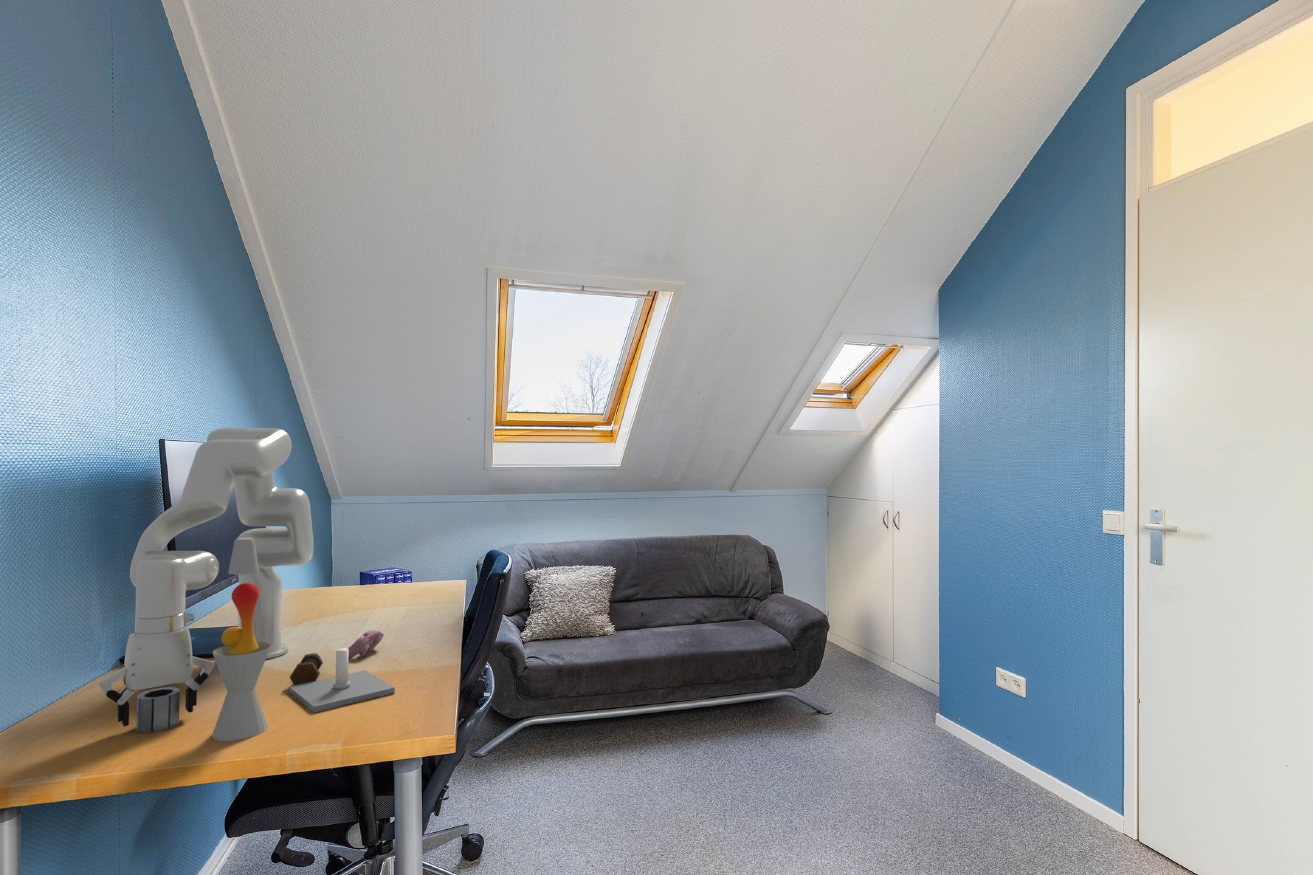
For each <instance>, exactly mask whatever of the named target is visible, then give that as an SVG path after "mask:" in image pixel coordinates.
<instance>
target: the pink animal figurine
mask: <svg viewBox="0 0 1313 875" xmlns="http://www.w3.org/2000/svg"><path fill="white" fill-rule="evenodd" d="M383 637H384V633H382V632H381V631H379V630H376V629H373V630H368V631H365V632H364V633H363V634H362V635H360V636H359V637H358V638H357V639H356V640H355V641H354V642H353V643H352V644H351V645H350V646H348V647H346V648H347V649H349V656H348V659H352V658H355V657H356V656H357V655H359V656H361V657H363V656H365V655H366V654H367V652H368V653H372V652H373V651H374V650H375V648H376V647H377V646H378V645H379V643H380V642H382V639H384V638H383Z"/></svg>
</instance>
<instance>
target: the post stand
mask: <svg viewBox="0 0 1313 875" xmlns="http://www.w3.org/2000/svg"><path fill="white" fill-rule="evenodd" d="M347 648H348V647H343V648H338V649H336V651H335V676H333V677H332V676H331V677H328V678H323V679H318V680H317V679H316V681H312V682H308V683H303V684H298V685H294V684H293V685H289V686H288V693H289V692H290V693H291V695H292V696H293V695H294V696H293V697H294V698H295V697H296V698H297V701H298V702H300V701H301V702H300V703H301V704H303V706H305V707H306V708H307V707H308V709H309V710H310V711H311V712H312V713H313V714H315V713H319V712H323V711H327V709H328V710H331V708H332V709H335V708H334V707H336V708H339V707H338V706H340V707H343V705H344V706H346V705H345V704H348V705H352V704H355V703H354V702H356V703H358V702H357V701H360V702H364V701H363V700H365V701H368V700H367V699H369V698H373V699H375V698H374V697H377V698H380V696H381V697H383V696H382V695H385V696H389V695H392V694H391V693H393V694H395V693H396V690H395V689H396V688H395V686H393V685H392V684H390V683H388V682H386V681H385V680H382V679H381V678H380V677H377V676H376V675H374V674H373V673H371V672H369V671H367V670H366V669H365V670H360V671H355V672H351V673H349V658H348V656H349V649H347ZM290 693H289V694H290ZM388 694H389V695H388ZM296 698H295V699H296ZM369 700H370V699H369ZM351 703H352V704H351ZM322 710H323V711H322Z"/></svg>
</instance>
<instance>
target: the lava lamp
mask: <svg viewBox="0 0 1313 875" xmlns="http://www.w3.org/2000/svg"><path fill="white" fill-rule="evenodd" d="M237 538H238V537H237ZM237 538H236V539H235V540H234V542H233V547H232V552H231V553H232V554H231V557H230V562H229V567H228V572H227V573H228V574H229V575H235V576H236V575H239V574H251V573H256V572H259V567H258V561H257V555H256V548H255V542H254V539H253V538H238V539H237ZM258 597H259V590H258V588H257V587H256V586H255V585H253V584H251V583H243V584H240V585H239V584H238V585H237V586H236V587H235V588H234V589H233V590H232V592H231V601H232V602H233V605H234V607H235V608H236V610H237V612H238V613H239V615H240V618H241V626H242V629H241V628H239V627H238V626H231V627H230V626H229V627H228V628H226V629H225V630H224V631H223V632H222V634H221V642H222V643H223V646H220V647H217V648H215V649H214V650H213V651H212V656H213V658H214V661H215V663H216V666H217V669H218V671H219V674H220V677H221V678H222V682H223V685H224V686H225V689H226V695H225V697H224V701H223V704H222V706H221V708H220V712H219V715H218V718H217V720H216V723H215V726H214V728H213V732H212V735H211V738H212V739H213V738H214V739H213V740H214V741H218V742H234V741H235V742H236V741H240V740H241V741H242V740H245V739H250V738H252V737H255V736H258V735H260V734H262V733H263V732H265V731H266V730H267V729H268V727H269V726H268V724H267V720H266V716H265V715H264V711H263V708H262V705H261V702H260V699H259V696H258V693H257V690H256V685H257V683H258V680H259V677H260V675H261V673H262V670H263V668H264V664H265V662H266V660H267V659H266V657H267V654H268V652H269V649H270V644H269V643H265V642H256V639H255V636H254V630H253V615H254V610H255V606H256V603H257V600H258Z"/></svg>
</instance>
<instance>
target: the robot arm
mask: <svg viewBox="0 0 1313 875" xmlns="http://www.w3.org/2000/svg"><path fill="white" fill-rule="evenodd" d="M291 451H292V440H291V437H290V435H289V433H287V432H286V431H285V430H284V429H281V428H268V427H267V428H266V427H265V428H262V427H261V428H259V427H256V428H255V427H224V428H223V427H222V428H216V429H214V430H212V431H210V432H209V433H208V435H207V437H206V441H205V442H203V443H201V444H200V445H199V446H198V448H197V449H196V451H195V454H194V457H193V459H192V463H191V466H190V469H189V472H188V475H187V478H186V481H185V484H184V487H183V490H182V493H181V497H180V499H179V501H177V503H175V504H174V505H172V506H171V507H169V508H168V509H166V510H165V511H163V513H161V514H160V515H158V516H157V518H156V519H155V520H153V521H152V522H151V523H150V524H149V525H148V526H147V527H146V529H144V531H143V533H142V534H141V536H140V538H139V540H138V543H137V546H136V548H135V551H134V554H133V555H132V556H133V557H132V560H131V563H130V569H129V578H130V581H131V584H133V586H134V587H135V618H134V632H133V633H130V634H129V636H128V639H127V643H126V646H125V647H126V649H125V654H124V655H125V656H124V664H123V667H122V668H121V669H119V670H117V671H115V672H114V673H111V674H110V675H108V676H106V677H105V678H103V679H102V680H100V681H99V682H98V685H99V687H100V689H101V691H102V692H103V693H104V695H105V696H106V697H107V698H108V699H109V700H112V701H113V702H115V703H116V704H117V722H121V724H122V726H123V727H128V726H129V725H130V703H129V701H128V700H129V699H130V698H131V697H132V695H134V693H135V692H141V691H149V690H154V689H159V688H165V687H167V686H168V687H169V686H173V685H178V684H183V683H184V684H185V685H186V686H187V687H186V689H185V703H184V704H185V705H184V707H185V708H184V709H185V710H186V712H188V713H193V712H194V707H196V706H197V705H198V704H197V703H198V702H197V699H198V698H197V696H198V690H199V688H200V686H201V685H202V684H203V683H204V682H205V681H206V680H207V679H208V678H209V675H210V673H211V672H212V670H213V668H214V666H215V663H214V662H213V661H211V660H208V659H204V658H200V657H197V656H193V646H192V637H191V634H190V628H189V626H187V624H188V623H190V622H194V621H195V614H194V613H187V612H186V596H187V595H186V592H187V591H190V590H199V589H202V588H207V586H210V585H211V584H212V583H213V582H214V581H215V579H216V578H217V576H218V575H219V570H220V563H219V560H218V559H217V557H216V555H215V554H213V553H211V552H209V551H204V550H165V548H166V546H167V545H168V544H169V543H170V541H171V540H173V539H174V538H175V537H176V536H178V534H181V533H182V532H184V531H186V530H188V529H191V528H193V527H195V526H199V525H200V524H203V523H206V522H208V521H211V520H213V519H215V518H216V519H217V518H219V517H220V516H221V515H223V514H224V513H225V512H226V511H227V509H228V506H229V502H230V498H231V495H232V492H233V489H234V493H235V495H234V496H235V501H236V502H235V503H236V509H237V514H238V518H239V521H240V523H242V524H243V525H245V526H249V527H258V528H252V529H251V528H250V529H248V530H246V531H243V532H242V533H241V534H239V536H238V537H237V538H236V539H238V538H253V539H254V542H255V548H256V555H257V561H258V567H259V572H256V573H251V574H238V585H240V584H243V583H251V584H253V585H255V586H256V587H257V588H258V590H259V597H258V600H257V603H256V606H255V610H254V615H253V630H254V636H255V639H256V642H265V643H269V644H270V649H269V652H268V654H267V657H266V660H268V659H272V658H277V657H279V656H282V655H285V654H286V653H287V652H288V650H289V646H288V645H287V644H285V643H282V615H283V581H282V579H281V576H280V575H279V573H278V572H277V571H276V570H275V568H274V567H293V566H294V567H296V566H302V565H306V564H308V563H309V562H310V561H311V560H312V558H313V555H314V547H315V546H314V543H315V542H314V531H313V523H312V522H313V521H312V513H311V511H312V510H311V503H310V500H309V496H308V495H307V493H306V492H305V491H304V490H302V489H299V488H296V487H293V488H292V487H287V488H286V487H283V488H282V487H280V488H279V487H277V486H276V485H275V479H274V472H275V471H276V470H277V469H278V468H280V467H281V466H283V465H284V464H285V462H286V461H287V460H288V458H290V455H291ZM259 527H260V528H259ZM261 527H262V528H261ZM263 527H264V528H263ZM265 527H266V528H265ZM269 527H271V528H269ZM279 527H280V528H279ZM281 527H282V528H281ZM283 527H284V528H283ZM237 615H238V617H237V618H238V619H237V627H239V628H241V629H242V626H241V618H240V615H239V613H238V614H237ZM194 666H197V667H200V668H201V667H202V670H201V672H200V673H199V674H198V675H196V677H194V678H193V674H194ZM122 679H123V680H122ZM119 680H122V681H123V685H124V687H123V688H122V689H121V691H120V692H118V691H116V690H115V689H114V688H113V687H112V685H113V684H114V683H116V682H118V681H119Z"/></svg>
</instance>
